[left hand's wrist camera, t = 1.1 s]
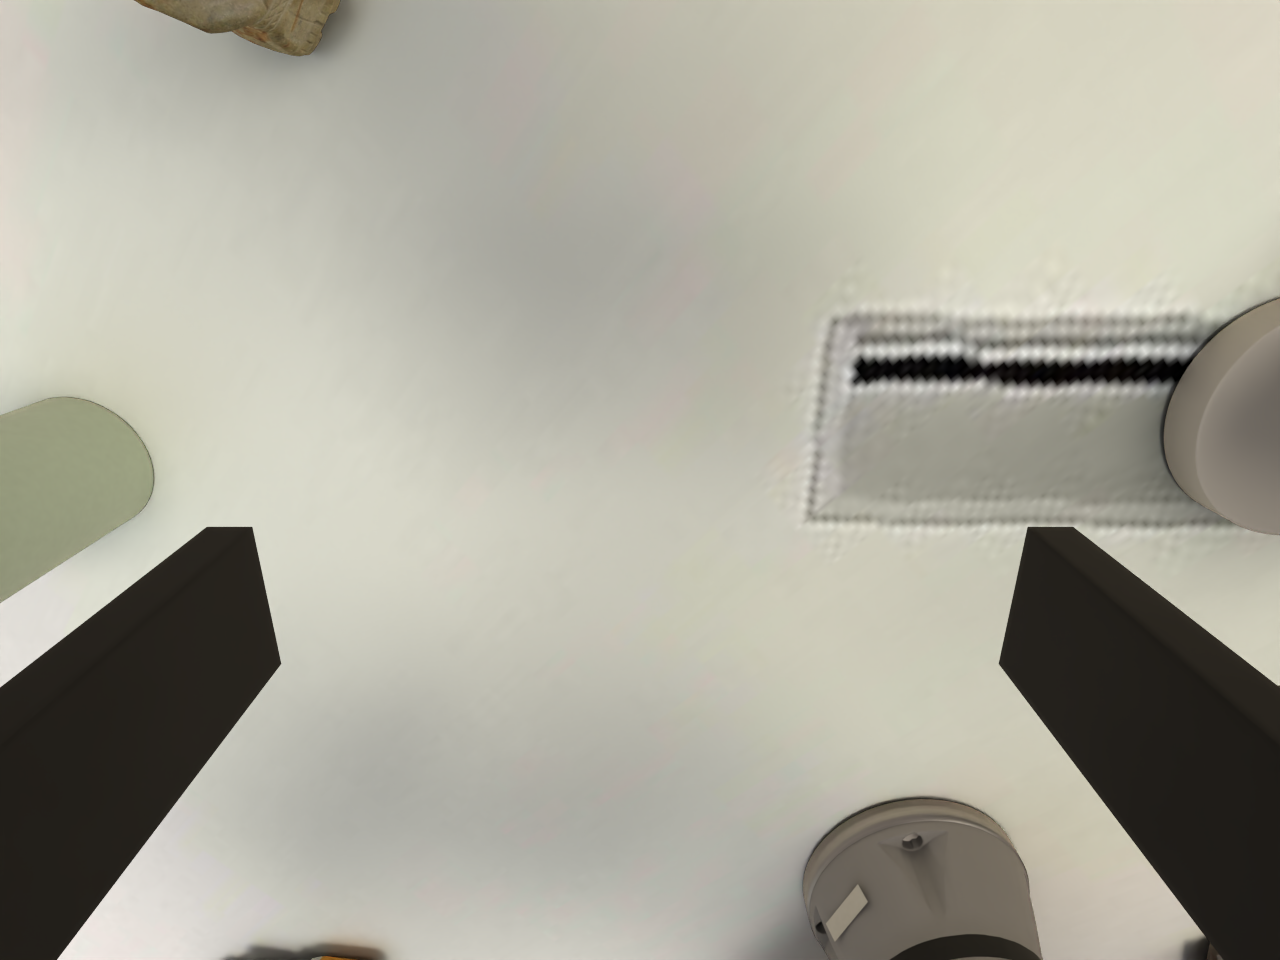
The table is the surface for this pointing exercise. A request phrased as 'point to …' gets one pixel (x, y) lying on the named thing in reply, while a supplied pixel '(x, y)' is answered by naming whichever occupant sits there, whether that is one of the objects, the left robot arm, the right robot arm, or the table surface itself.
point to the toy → (1213, 954)
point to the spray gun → (330, 958)
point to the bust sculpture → (1231, 423)
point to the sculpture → (256, 20)
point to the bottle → (64, 484)
